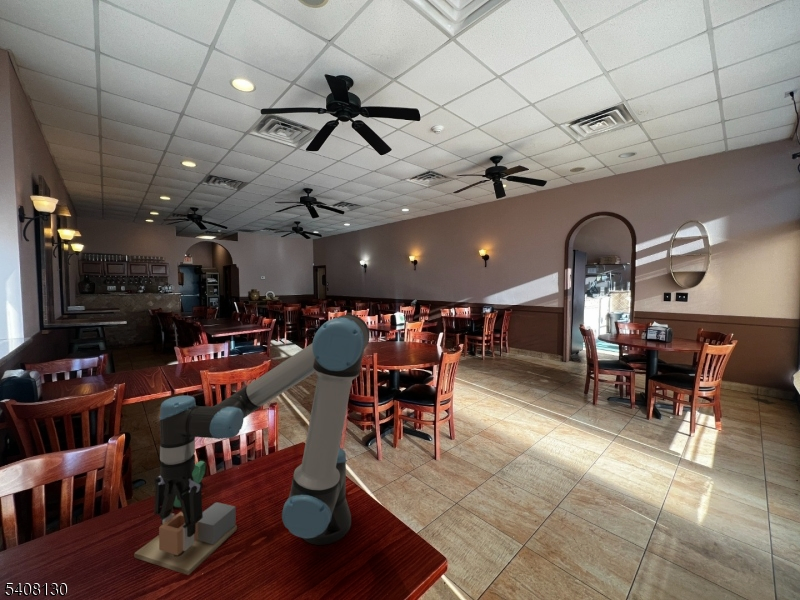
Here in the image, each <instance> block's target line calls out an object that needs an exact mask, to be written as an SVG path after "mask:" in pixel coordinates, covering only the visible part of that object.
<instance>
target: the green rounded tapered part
mask: <svg viewBox="0 0 800 600" xmlns="http://www.w3.org/2000/svg"><path fill="white" fill-rule="evenodd" d="M206 473H207V463H206V462H205V461H204V460H200V461H199V460H198V462H195V468H194V470H193V472H192V476H193V479H194V482H196V483H199V482H202V481H203V479H204V478H205V475H206ZM202 483H203V482H202ZM186 492H187V491H186ZM183 494H184V493H183ZM173 507H175V508H181V504H180V500H177V496H176V498H175V501H174V505H173Z"/></svg>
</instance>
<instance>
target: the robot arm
mask: <svg viewBox="0 0 800 600" xmlns="http://www.w3.org/2000/svg"><path fill="white" fill-rule="evenodd" d="M369 329H370V328H369V327H368V325H367V323H366V322H365V321H364V320H363V319H362V318H361V317H359V316H358V315H354V314H344V315H340V316H337V317H334V318H331V319H329V320H327V321H326V322H324V323H323V324H322V325H321V326H320V327H319V328H318V330H316V332H315V334H314V336H313V340H312V343H310V344H308V346H306V347H304V348H302V349H301V350H299V351H298V352H296V353H295V354H293V355H291V356H290V357H289V358H286V360H284V361H283V362H281V363H279V364H278V365H277V366H275V367H273V368H272V369H271V370H269V371H267V372H266V373H264V374H263V375H261V376H260V377H258V378H256V379H255V380H253V381H252V382H249V384H247V385H246V386H244V387H243V388H241V389H239V390H237V391H236V392H234V393H233V394H232V395H230V396H228V397H227V398H226V399H224V400H222V401H220V402H218V403H216V404H215V405H214V406H203V405H196V398H195V397H194V396H191V395H178V396H177V395H176V396H173V397H170V398H167V399H165V400H164V401H162V402H161V404H160V410H159V412H160V413H159V429H160V430H159V431H160V441H159V443H160V445H159V460H160V464H159V465H160V467H159V468H160V469H159V470H160V471H159V473H160V475H159V476H156V477H155V478H154V479H153V482H154V485H155V490H154V491H155V492H154V493H155V495H154V515H155V516H157V515H159V519H161V525H163V524H164V523H166V522H167V521H168V520H170V519H171V518H173V517H174V516H175V513H173V512H174V511H175V509H173V508H174V501H175V498H176V496H177V500H180V504H181V507H180V508H181V512H183V516H184V520H185V524H184V525H183V551H186V550H187V549H188V548H189V547H190V546H191V545H193V544H194V534H195V532H196V530H195V529H196V523H197V522H198V521H200V520H201V519H202V518H203V514H202V513H203V503H202V502H203V501H202V500H203V497H202V489H203V485H204V484H203V482H199V483H196V482H194V479H193V476H192V472H193V470H194V468H195V464H196V454H195V452H196V438H208V439H218V440H221V439H222V440H223V439H232V438H235V437H236V436H237V435H239V433H240V430H242V428H243V425H244V419H245V418H247V417H248V416H249V415H250V414H252V413H254V412H255V411H257V410H258V409H260V408H261V407H263V406H264V405H266V404H267V403H269V402H272V400H273V399H275V398H277V397H278V396H280V395H281V394H283V393H285V392H286V391H288V390H289V389H291V388H292V387H294V386H296V385H297V384H299V383H301V381H304V380H305V379H306V378H308V377H310V376H311V375H313V374H314V373H315V374H316V375H317V378H316V384H315V390H314V395H313V402H312V407H311V412H310V417H309V423H308V429H307V435H306V439H305V445H304V451H303V456H302V460H301V464H299V465H298V466H297V467H296V468H295V469H294V472H293V476H292V477H293V478H292V482H291V487H290V491H289V496H288V498H287V500H286V501H285V503H284V504H283V509H282V512H281V520H282V523H283V525H284V527H285V528H286V529H288V532H289V533H290V534H292V535H293V536H295V537H298V538H302V540H303V541H305V542H307V543H308V544H311V545H315V546H316V545H317V546H322V545H323V546H325V545H330V544H333V543H335V542H338V541H340V540H342V539H343V538H344V537H345V536H346V535H347V534H348V532H349V531H350V530H351V526H352V514H351V511H350V507H349V504H348V502H347V498H346V484H347V483H346V480H347V479H346V477H347V476H346V475H347V474H346V473H347V472H346V471H347V470H346V469H347V467H346V466H347V456H346V452H345V450H344V449H343V448H341V442H342V436H343V430H344V425H345V421H346V420H345V419H346V414H347V409H348V403H349V397H350V394H351V393H350V392H351V387H352V383H353V380H354V379H356V378H358V377H359V376H360V372H361V367H362V361H363V357H364V351H365V349H366V348H367V347H368V344H369V341H370V330H369ZM186 491H187V492H186ZM183 493H184V494H183Z"/></svg>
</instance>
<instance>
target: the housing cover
mask: <svg viewBox="0 0 800 600" xmlns="http://www.w3.org/2000/svg"><path fill="white" fill-rule="evenodd" d="M236 513H237V512H236V506H235V505H230V504H226V503H221V502H218V501H217V502H214V503H213V504H212V505H210V506H209V507H208V508H206V509H205V510H204V511H202V514H203V518H202V519H201V520H200V521H198V539H196V540H199V541H202V542H206V543H209V544H214V543H216V542H217V541H218V540H219V539H220V538H221V537H222V536H223V535H224V534H225V533H226V532H228V531H229V530H230V529H231V528H232V527H233V526H234V525H237V524H236V519H237V518H236Z"/></svg>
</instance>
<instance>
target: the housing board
mask: <svg viewBox="0 0 800 600" xmlns="http://www.w3.org/2000/svg"><path fill="white" fill-rule="evenodd" d="M237 530H238V525H237V524H235V525H234V526H233V527H232V528H231V529H230V530H229V531H228V532H226V533H225V534H224V535H223V536H222V537H221V538H220V539H219V540H218V541H217V542H216V543H214V544H209V543H206V542H202V541H199V540H195V541H194V544H193V545H191V546H190V547H189V548H188V549H187V550H186V551H182V552H181V553H180V554H179V555H174V554H171V553H168V552H165V551H162V550H159V534H158V535H157V536H155V537H154V538H152V539H151V540H150V541H149V542H147V543H146V544H145V545H143V546H142V547H140V549H138V550H137V551H135V552H134V557H133V558H135V559H138V560H141V561H144V562H147V563H148V564H149V563H150V564H153V565H156V566H159V567H162V568H165V569H168V570H171V571H173V572H178V573H181V574H183V575H187V576H189V575H190V574H191V573H192V572H193V571H195V570H196V569H197V568H198V567H199V566H200V565H201V564H202V563H203V562H204V561H205V560H206V559H207V558H208V557H209V556H211V555H212V554H213V553H214V552H215V551H216V550H217V549H218V548H219V547H221V545H222V544H223V543H225V542H226V541H227V539H229V538H230V537H231V536H232V535H233V534H234V533H235V532H236V531H237Z"/></svg>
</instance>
